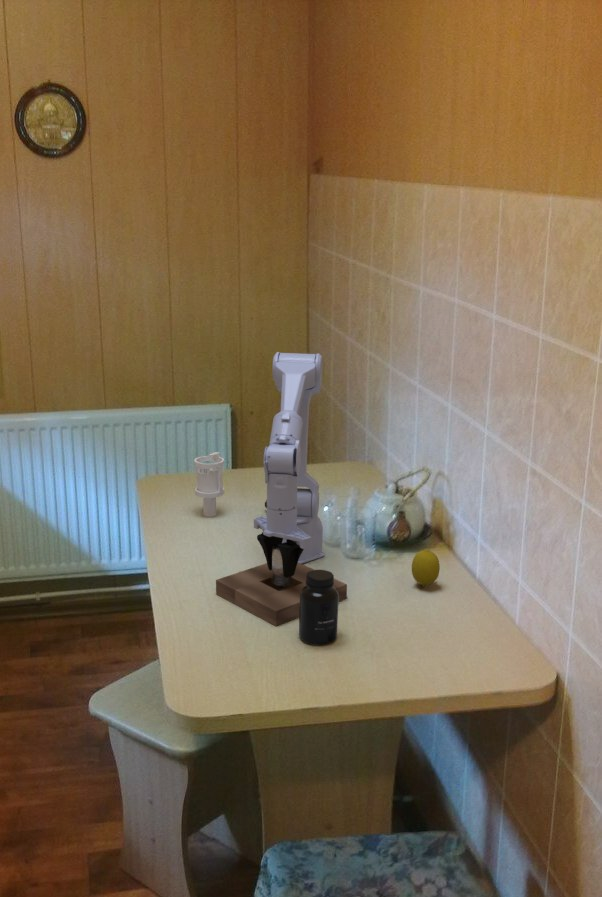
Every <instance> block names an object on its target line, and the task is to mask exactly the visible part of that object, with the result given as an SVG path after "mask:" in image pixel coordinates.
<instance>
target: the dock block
mask: <svg viewBox="0 0 602 897" xmlns="http://www.w3.org/2000/svg"><path fill="white" fill-rule="evenodd" d="M312 570H315V569H314V568H311V567H309V566H307V565H305V564H304V563H302V564H301V563H297V566H296V570H295V573H294V575H293V576H292V583H291V584H289V585H285V586H279V585H275V584H273V583H272V570H269V569H268V565H267V562H266V563H263V564H260V565H257V566H254V567H251V568H248V569H245V570H242V571H239V572H236V573H233V574H230V575H227V576H224V577H221V578H218V579H215V595H217V596H219V597H221V599H224V600H227V601H228V602H231V603H232V604H233V605H235V606H237V607H239V608H241V609H243V610H245V611H247V612H248V613H251V614H253V615H254V616H256V617H257V618H260V619H261V620H263V621H265V622H267V623H270V624H271V625H273V626H274V627H278V626H281V625H283V624H285V623H288V622H290V621H293V620H296V619H298V618H299V610H300V592H301V590H302V589H303V588H304V587H305V586H306V575H307V573H308V572H309V571H312ZM333 587H334V588H335V589H336V590H337V591H338V594H339V601H338V603H339V602H341V601H345V600H346V599H348V597H347V596H348V594H347V592H348V584H347V583H345V582H343V581H340V580H338V579H336V578H334V586H333ZM282 588H283V590H278V589H282Z"/></svg>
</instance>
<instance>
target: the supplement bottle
mask: <svg viewBox="0 0 602 897" xmlns="http://www.w3.org/2000/svg"><path fill="white" fill-rule="evenodd" d="M334 576H335V575H334V573H333V572H331V571H329V570H325V569H314V570H312V571H309V572H308V573H307V575H306V586H305V587H304V588H303V589H302V590H301V592H300V610H299V619H298V636H299V639H301V640H302V641H303V642H304V643H306V644H309V645H314V646H324V645H330V644H332V643H333V642H334V641H335V640H336V639H337V636H338V622H339V618H338V617H339V602H340V601H339V594H338V591H337V590H336V589H335V588H334V587H333V586H334V579H335V578H334ZM338 601H339V602H338Z"/></svg>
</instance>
